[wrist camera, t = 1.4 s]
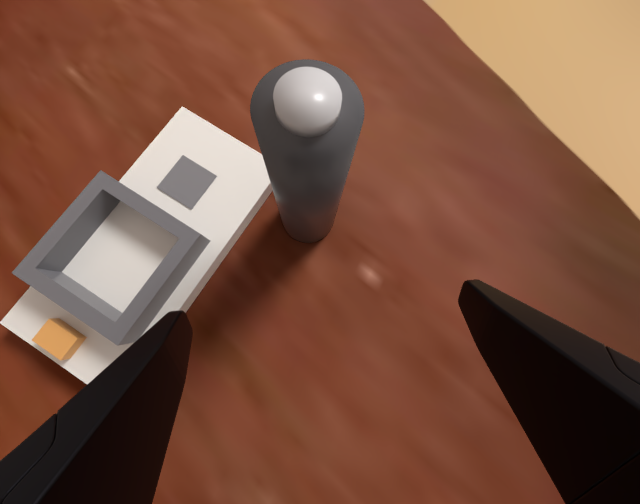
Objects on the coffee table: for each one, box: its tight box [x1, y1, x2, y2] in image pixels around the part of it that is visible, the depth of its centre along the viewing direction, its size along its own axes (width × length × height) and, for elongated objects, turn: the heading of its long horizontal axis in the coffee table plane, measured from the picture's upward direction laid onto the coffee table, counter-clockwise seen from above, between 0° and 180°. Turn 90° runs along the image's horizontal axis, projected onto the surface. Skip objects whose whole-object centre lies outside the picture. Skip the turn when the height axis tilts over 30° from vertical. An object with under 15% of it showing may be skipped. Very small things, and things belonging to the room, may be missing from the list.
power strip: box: [0, 107, 273, 384], centre depth 21 cm, size 20×10×4 cm, turn 148°
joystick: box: [250, 60, 364, 243], centre depth 17 cm, size 4×4×14 cm
